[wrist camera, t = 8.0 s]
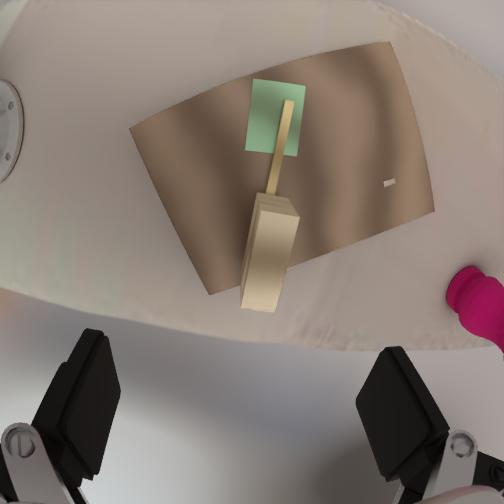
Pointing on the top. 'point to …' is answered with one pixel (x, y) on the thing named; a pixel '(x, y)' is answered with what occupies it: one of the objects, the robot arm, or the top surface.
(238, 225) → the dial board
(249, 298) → the wooden mallet
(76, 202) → the top surface
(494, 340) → the pepper mill
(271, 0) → the top surface
